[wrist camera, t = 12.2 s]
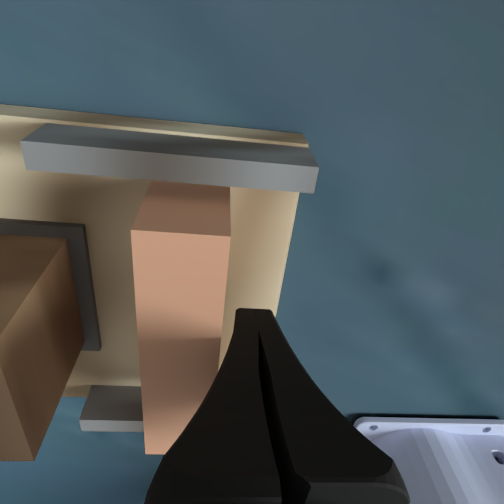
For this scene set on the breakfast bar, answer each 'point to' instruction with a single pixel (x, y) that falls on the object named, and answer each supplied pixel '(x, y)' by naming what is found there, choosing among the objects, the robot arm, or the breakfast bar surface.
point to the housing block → (34, 338)
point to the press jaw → (179, 301)
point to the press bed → (123, 216)
